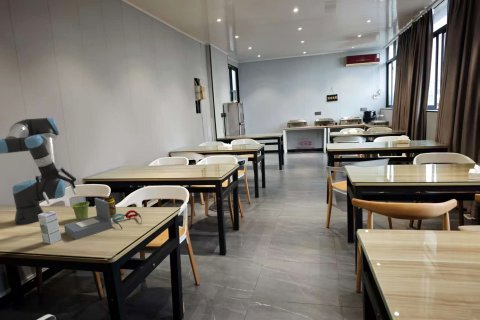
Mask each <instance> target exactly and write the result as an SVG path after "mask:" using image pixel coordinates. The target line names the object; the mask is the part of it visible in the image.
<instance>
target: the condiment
mask: <svg viewBox="0 0 480 320" xmlns="http://www.w3.org/2000/svg"><path fill="white" fill-rule="evenodd" d="M103 200H104V201H106V202H108V203H109V210H110V217H111V219H112V218H113V216H114V215H115V214H117V208H116V202H115V198H114V196H113V195H108V196H106V195H105V196H104V197H103ZM116 218H119V216H117V217H116Z"/></svg>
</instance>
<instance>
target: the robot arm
mask: <svg viewBox="0 0 480 320" xmlns="http://www.w3.org/2000/svg"><path fill="white" fill-rule="evenodd" d="M8 132H9V133H8V134H7V135H6V137H5V138H0V154H13V153H21V152H29V153H30V155H31V156H32V157H31V158H32V159H33V160H34V164H35V165H36V167H37V169H38V172H39V173H40V175H36V176H35V178H34V179H32V180H30V179H29V180H26V181H22V182H20V183H16V184H14V185H13V186H12V195H13V200H14V205H15V210H16V211H15V216H14V224H15V225H28V224H32V223H36V222H39V218H38V215H39V214H41V213H44V212H45V211H44V210H43V209H42V207H41V205H40V202H43V201H46V204H47V205H50V204H51V201H50V200H57V199H61V198H64V196H65V194H66V182H67V183H69V187H71V190H72V192H73V194H74V195H77V191H76V188H77V187H76V184H75V182H76V181H77V178H76V177H75V176H73V175H72V174H71V173H69V172H68V171H67V170H65V168H64V167H63V166H62V167H61V168H59V166H58V157H57V150H56V142H55V140H57V138H58V136H59V135H60V132H59V128H58V125H57V122H56V118H53V117H41V118H28V119H27V118H25V119H22V120H19V121H17V122H15V123H14V124H12V125H11V127H10V128H9V131H8ZM60 173H62V174H64V175H65V176H64V175H61V174H60Z"/></svg>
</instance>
